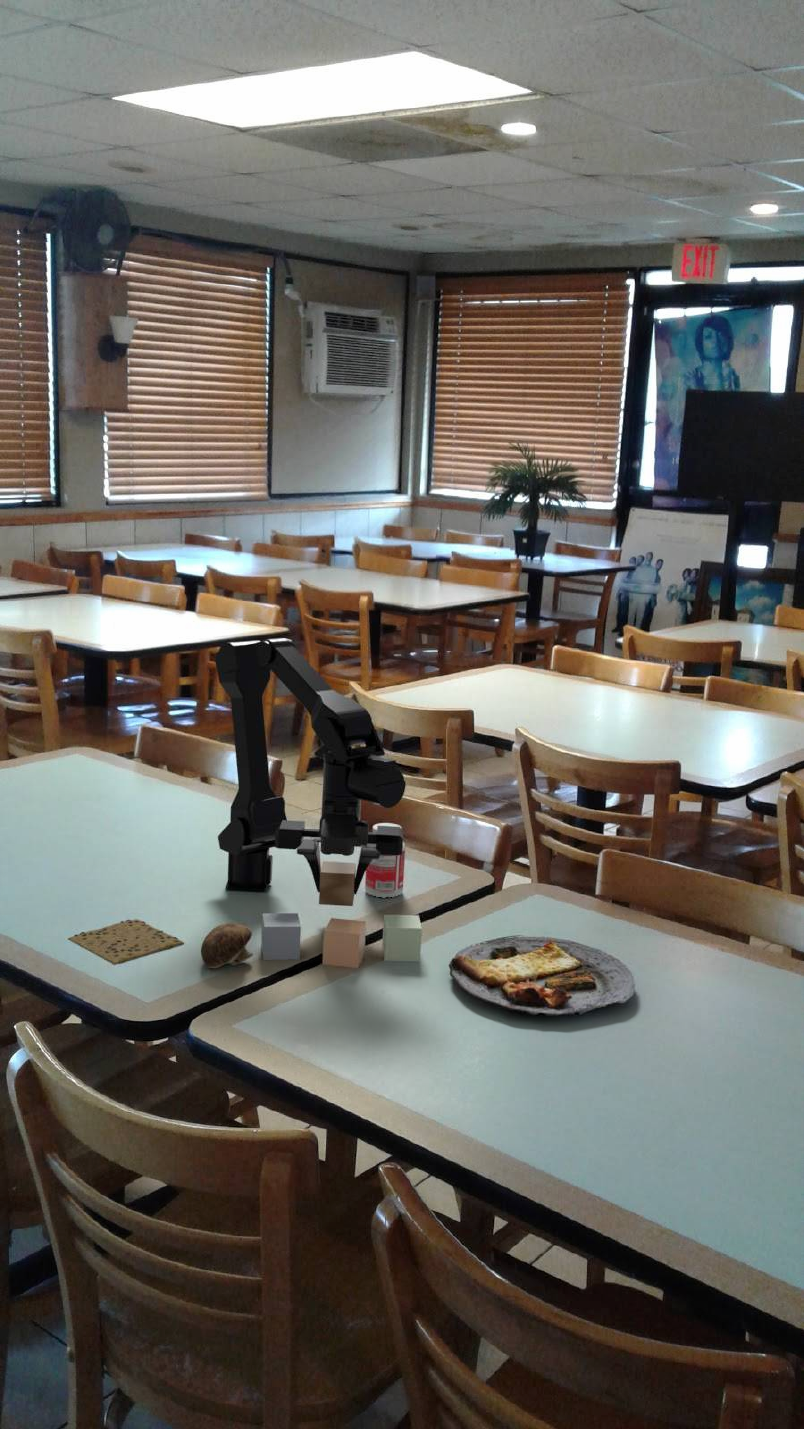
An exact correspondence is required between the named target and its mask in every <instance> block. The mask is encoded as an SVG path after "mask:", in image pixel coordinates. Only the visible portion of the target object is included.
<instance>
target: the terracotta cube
mask: <svg viewBox="0 0 804 1429" xmlns="http://www.w3.org/2000/svg"><path fill="white" fill-rule="evenodd" d="M366 927H367V921H363V920H353V919H344V918H334V917H331V918H330V920H329V921H328V923H327V924H326V926H325V928H324V930H323V945H322V963H321V964H322V965H327V966H335V967H344V968H352V969H359V967H360V965H361V962H362V960H363V959H364V956H365V950H366V948H365V947H366V930H367V929H366Z"/></svg>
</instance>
